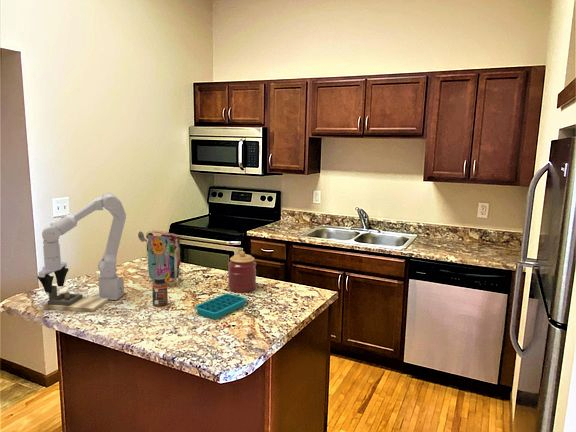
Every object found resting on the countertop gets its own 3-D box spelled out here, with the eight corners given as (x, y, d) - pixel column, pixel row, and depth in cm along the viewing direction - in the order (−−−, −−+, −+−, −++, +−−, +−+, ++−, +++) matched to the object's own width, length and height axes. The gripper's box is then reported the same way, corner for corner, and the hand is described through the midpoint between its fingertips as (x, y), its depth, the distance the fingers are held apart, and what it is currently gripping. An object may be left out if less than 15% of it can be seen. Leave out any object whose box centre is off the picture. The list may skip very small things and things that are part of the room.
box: (134, 279, 203) (132, 230, 199) (144, 276, 209) (142, 228, 205) (173, 288, 192) (172, 236, 188) (182, 284, 197) (182, 234, 193)
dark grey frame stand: (82, 297, 173) (81, 283, 172) (69, 305, 164) (68, 291, 164) (57, 296, 174) (56, 282, 173) (43, 304, 166) (41, 289, 165)
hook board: (107, 301, 174) (107, 290, 173) (93, 312, 163) (92, 299, 162) (62, 299, 175) (61, 287, 175) (44, 309, 165) (43, 296, 164)
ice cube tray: (192, 314, 164) (192, 307, 163) (226, 299, 181) (226, 292, 180) (215, 321, 158) (215, 314, 157) (248, 305, 175) (248, 298, 174)
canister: (254, 293, 188) (255, 255, 185) (225, 292, 188) (225, 254, 185) (257, 284, 201) (257, 248, 198) (230, 283, 201) (230, 247, 198)
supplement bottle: (158, 308, 168) (157, 281, 167) (149, 304, 172) (148, 277, 170) (170, 304, 173) (170, 277, 171) (161, 300, 177) (161, 274, 175)
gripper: (54, 251, 174) (56, 283, 177) (30, 260, 160) (32, 294, 162) (70, 252, 174) (72, 283, 176) (47, 261, 159) (50, 295, 162)
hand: (54, 289), depth 169 cm, fingers open, 7 cm apart
